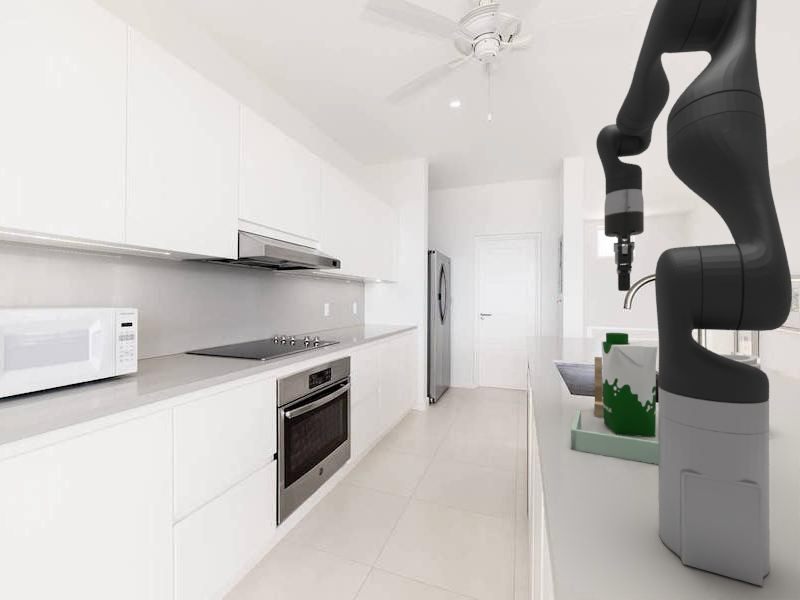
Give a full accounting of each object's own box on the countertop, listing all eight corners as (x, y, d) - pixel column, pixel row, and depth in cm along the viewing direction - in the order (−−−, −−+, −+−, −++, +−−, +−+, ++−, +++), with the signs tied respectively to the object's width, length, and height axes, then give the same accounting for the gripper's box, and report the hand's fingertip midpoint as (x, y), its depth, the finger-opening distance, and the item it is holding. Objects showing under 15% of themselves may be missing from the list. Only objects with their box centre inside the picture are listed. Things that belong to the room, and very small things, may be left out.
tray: (706, 473, 57) (706, 450, 57) (571, 449, 67) (571, 430, 67) (689, 442, 69) (689, 424, 69) (576, 425, 79) (576, 409, 79)
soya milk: (598, 421, 81) (597, 331, 81) (643, 424, 80) (643, 331, 80) (612, 436, 73) (612, 335, 73) (663, 439, 71) (663, 336, 71)
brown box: (646, 423, 80) (646, 364, 80) (594, 416, 85) (594, 360, 85) (643, 414, 86) (643, 359, 86) (595, 408, 91) (595, 356, 91)
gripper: (646, 204, 74) (646, 290, 75) (641, 217, 86) (641, 290, 87) (604, 209, 78) (604, 290, 78) (604, 220, 90) (605, 291, 90)
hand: (624, 290), depth 82 cm, fingers closed
